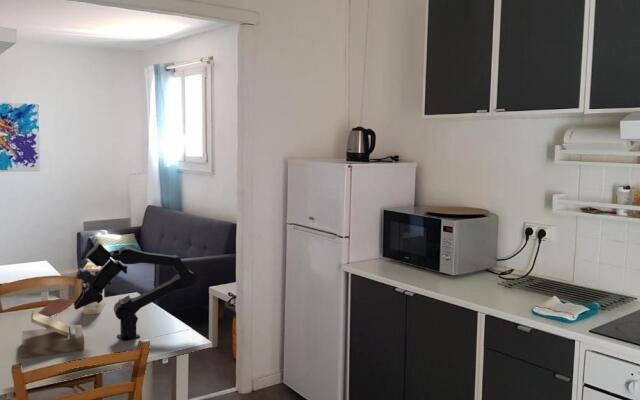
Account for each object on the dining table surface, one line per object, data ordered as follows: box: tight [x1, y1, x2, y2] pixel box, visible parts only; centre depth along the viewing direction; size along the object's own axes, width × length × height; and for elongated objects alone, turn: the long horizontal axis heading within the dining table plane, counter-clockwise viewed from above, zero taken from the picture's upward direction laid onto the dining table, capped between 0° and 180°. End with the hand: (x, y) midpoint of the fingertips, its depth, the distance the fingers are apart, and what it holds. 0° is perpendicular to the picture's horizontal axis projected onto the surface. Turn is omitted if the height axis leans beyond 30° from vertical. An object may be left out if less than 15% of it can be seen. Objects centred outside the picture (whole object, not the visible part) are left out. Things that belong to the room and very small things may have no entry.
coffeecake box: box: [82, 261, 105, 315], centre depth 247 cm, size 15×7×20 cm, turn 14°
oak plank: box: [30, 310, 69, 336], centre depth 201 cm, size 13×10×1 cm
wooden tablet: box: [38, 298, 77, 316], centre depth 248 cm, size 27×10×2 cm, turn 4°
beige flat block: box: [21, 323, 85, 359], centre depth 202 cm, size 20×15×6 cm
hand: (74, 307), depth 205 cm, fingers open, 3 cm apart
